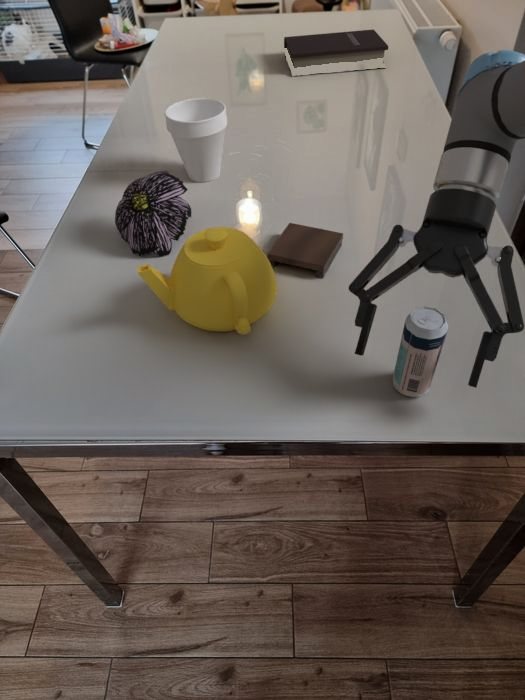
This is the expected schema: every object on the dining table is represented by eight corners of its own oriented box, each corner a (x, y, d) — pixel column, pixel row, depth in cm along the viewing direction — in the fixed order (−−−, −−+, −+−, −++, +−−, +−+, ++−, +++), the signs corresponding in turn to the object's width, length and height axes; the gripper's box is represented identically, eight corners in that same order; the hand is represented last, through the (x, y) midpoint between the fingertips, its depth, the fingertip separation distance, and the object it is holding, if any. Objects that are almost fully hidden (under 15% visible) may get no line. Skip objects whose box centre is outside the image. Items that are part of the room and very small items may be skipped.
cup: (165, 175, 109) (152, 110, 99) (210, 156, 114) (201, 92, 104) (198, 195, 102) (187, 127, 92) (244, 173, 107) (238, 108, 98)
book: (370, 48, 161) (372, 27, 157) (385, 68, 148) (388, 46, 144) (284, 56, 160) (283, 35, 156) (292, 76, 147) (292, 54, 143)
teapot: (256, 260, 86) (251, 192, 77) (299, 330, 73) (300, 260, 64) (142, 290, 82) (122, 222, 73) (167, 370, 69) (147, 300, 60)
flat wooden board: (342, 245, 88) (343, 233, 86) (323, 278, 82) (324, 266, 80) (289, 234, 91) (289, 222, 89) (267, 265, 85) (267, 253, 83)
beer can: (437, 388, 65) (459, 321, 56) (409, 405, 63) (428, 338, 55) (411, 365, 68) (428, 298, 59) (384, 381, 66) (397, 314, 57)
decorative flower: (81, 200, 84) (142, 144, 87) (103, 238, 95) (157, 187, 98) (143, 247, 80) (204, 186, 84) (159, 281, 91) (212, 226, 95)
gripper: (572, 224, 58) (518, 397, 60) (364, 189, 66) (322, 343, 68) (591, 206, 51) (530, 403, 53) (356, 169, 59) (309, 342, 61)
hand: (413, 370), depth 60 cm, fingers open, 13 cm apart
